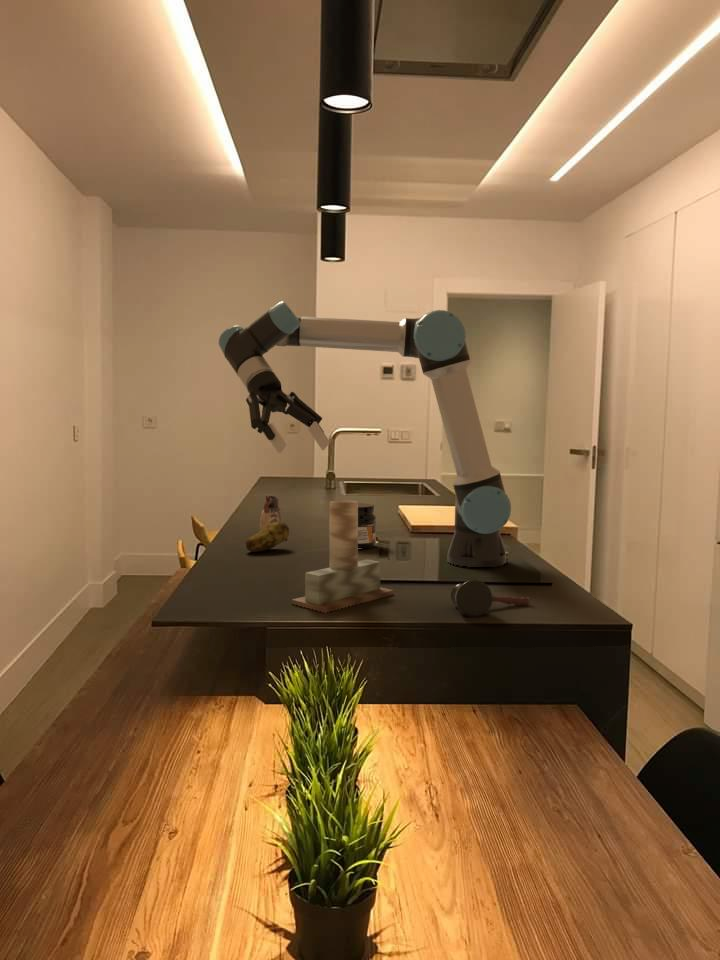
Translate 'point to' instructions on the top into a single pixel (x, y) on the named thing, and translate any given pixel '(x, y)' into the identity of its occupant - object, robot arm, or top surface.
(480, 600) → the coffee pot
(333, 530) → the rod
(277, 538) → the potato
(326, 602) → the stand
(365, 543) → the supplement container
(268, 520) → the figurine
